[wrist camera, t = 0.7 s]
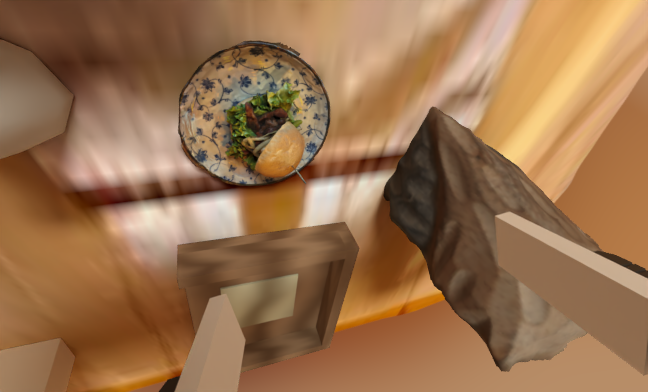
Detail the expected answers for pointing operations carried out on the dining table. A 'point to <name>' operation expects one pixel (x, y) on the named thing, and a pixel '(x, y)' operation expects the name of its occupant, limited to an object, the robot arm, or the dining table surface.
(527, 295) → the owl
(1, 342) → the dining table surface
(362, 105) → the dining table surface
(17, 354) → the block
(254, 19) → the dining table surface
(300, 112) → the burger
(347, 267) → the shallow rimmed tray
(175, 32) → the dining table surface
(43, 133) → the flask
